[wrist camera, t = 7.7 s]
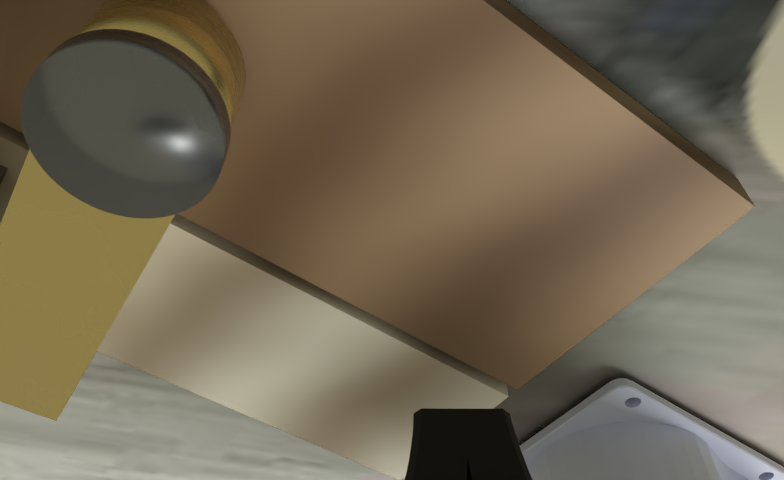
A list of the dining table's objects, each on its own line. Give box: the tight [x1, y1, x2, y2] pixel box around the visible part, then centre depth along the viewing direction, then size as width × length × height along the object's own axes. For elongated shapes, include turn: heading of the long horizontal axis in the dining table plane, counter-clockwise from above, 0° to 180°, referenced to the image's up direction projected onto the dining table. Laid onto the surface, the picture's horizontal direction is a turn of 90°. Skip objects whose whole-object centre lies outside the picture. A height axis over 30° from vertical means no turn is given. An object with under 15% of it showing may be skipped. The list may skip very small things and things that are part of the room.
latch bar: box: [0, 0, 246, 421], centre depth 16 cm, size 12×4×3 cm, turn 147°
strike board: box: [0, 0, 755, 480], centre depth 18 cm, size 18×15×4 cm
